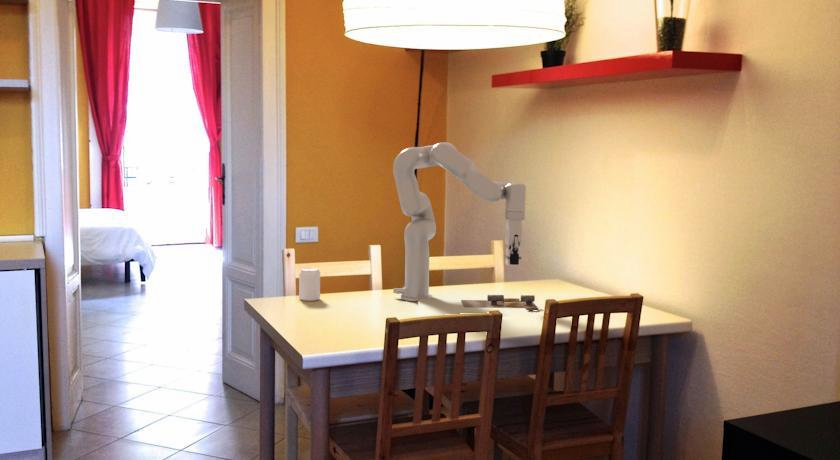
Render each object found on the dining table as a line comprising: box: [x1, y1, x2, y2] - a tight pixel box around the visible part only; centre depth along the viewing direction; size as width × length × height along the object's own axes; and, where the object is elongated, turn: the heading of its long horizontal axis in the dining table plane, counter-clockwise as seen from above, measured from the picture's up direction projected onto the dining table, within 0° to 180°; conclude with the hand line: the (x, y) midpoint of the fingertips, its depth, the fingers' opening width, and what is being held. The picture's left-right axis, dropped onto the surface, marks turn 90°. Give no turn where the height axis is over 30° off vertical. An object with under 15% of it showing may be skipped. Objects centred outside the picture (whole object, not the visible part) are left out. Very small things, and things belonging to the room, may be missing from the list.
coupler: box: [504, 247, 522, 267], centre depth 304 cm, size 5×5×6 cm
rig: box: [460, 294, 539, 311], centre depth 306 cm, size 28×13×5 cm, turn 93°
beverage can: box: [298, 267, 321, 302], centre depth 311 cm, size 8×8×12 cm
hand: (513, 262), depth 304 cm, fingers closed on coupler, 5 cm apart
